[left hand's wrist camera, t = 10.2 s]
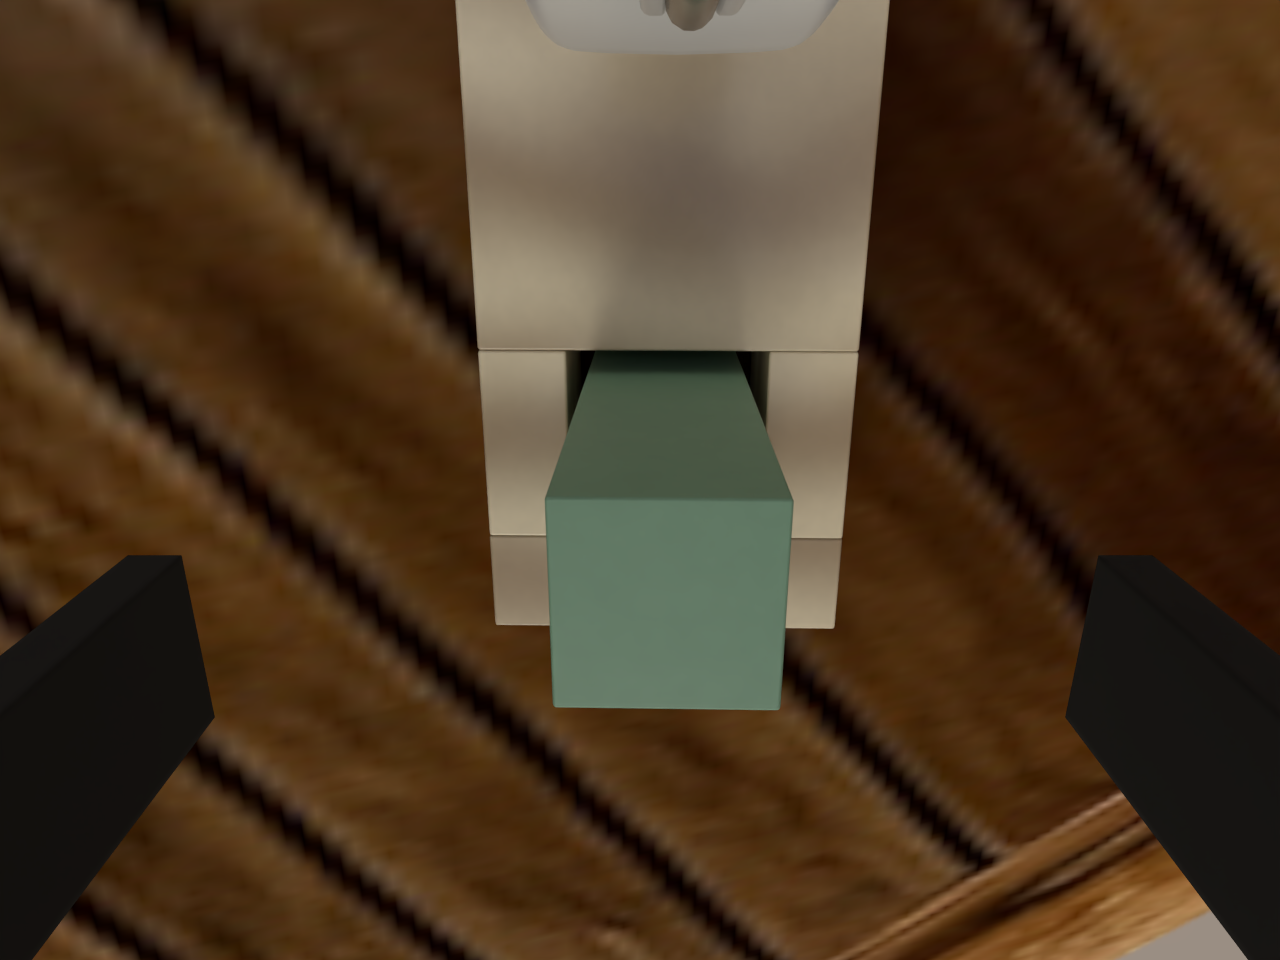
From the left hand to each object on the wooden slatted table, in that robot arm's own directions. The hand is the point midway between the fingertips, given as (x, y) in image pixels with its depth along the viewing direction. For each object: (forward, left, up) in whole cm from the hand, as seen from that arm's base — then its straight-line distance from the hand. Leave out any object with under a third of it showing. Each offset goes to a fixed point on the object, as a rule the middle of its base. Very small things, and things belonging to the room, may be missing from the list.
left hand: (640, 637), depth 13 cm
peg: (0, 0, -13) cm, 13 cm away
